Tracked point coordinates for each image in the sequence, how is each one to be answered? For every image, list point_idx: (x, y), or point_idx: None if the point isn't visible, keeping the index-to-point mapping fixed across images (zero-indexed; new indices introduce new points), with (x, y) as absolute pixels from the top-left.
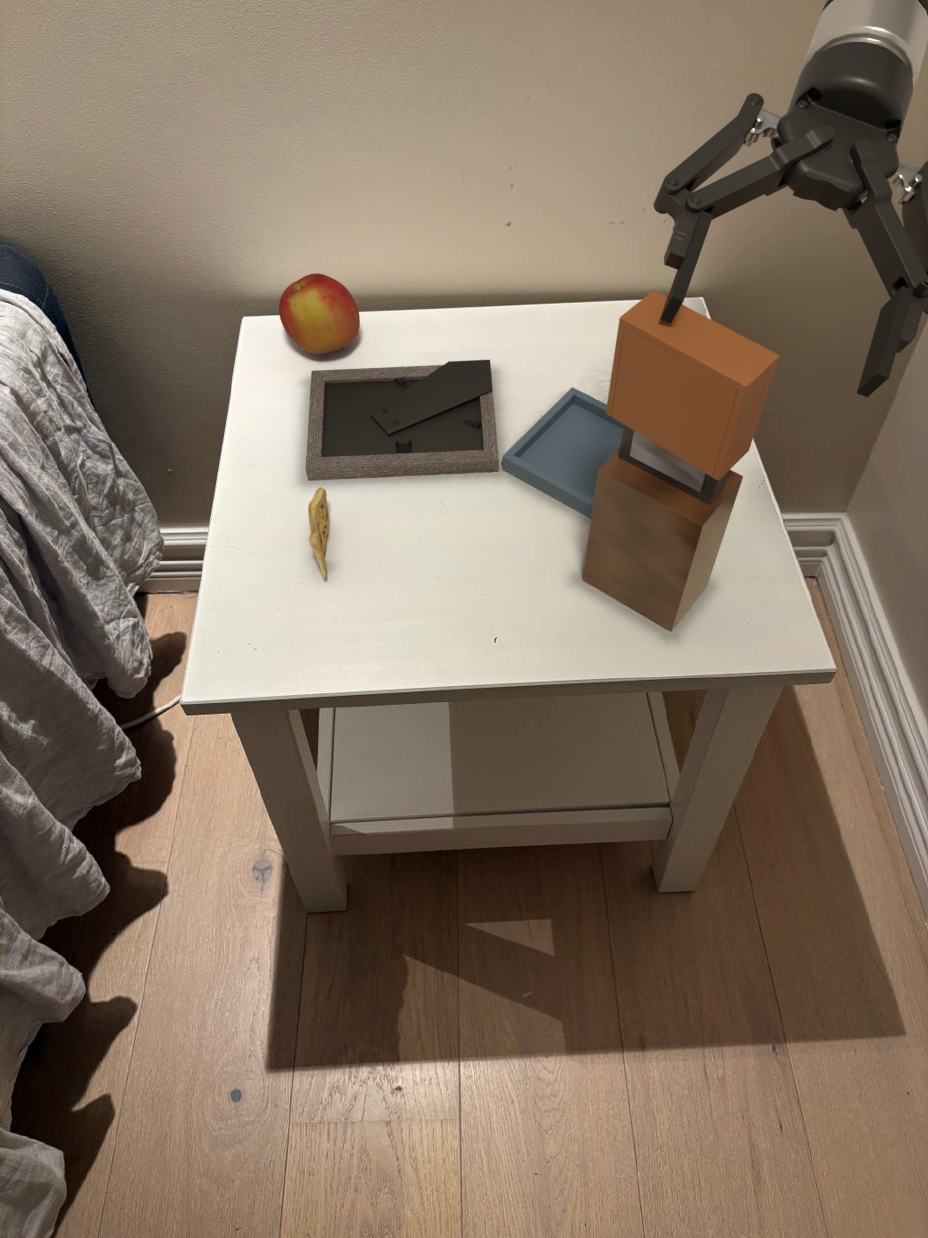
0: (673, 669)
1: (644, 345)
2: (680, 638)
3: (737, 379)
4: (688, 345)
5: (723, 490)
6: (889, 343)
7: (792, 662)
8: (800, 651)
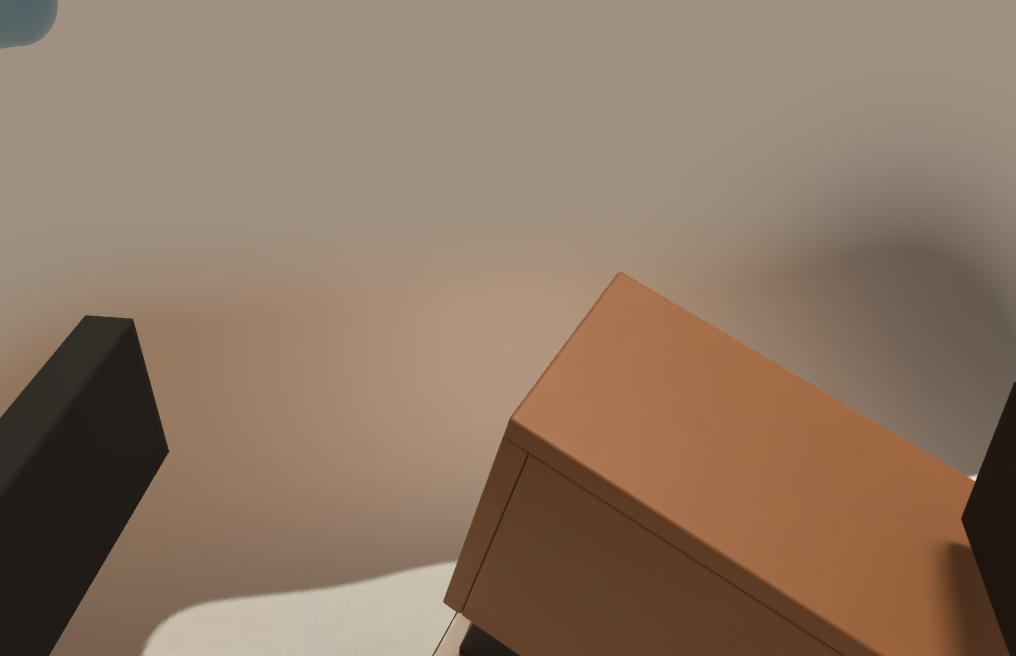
0: (439, 573)
1: None
2: (427, 646)
3: (652, 298)
4: (851, 446)
5: (460, 642)
6: (44, 413)
7: (198, 616)
8: (176, 645)
